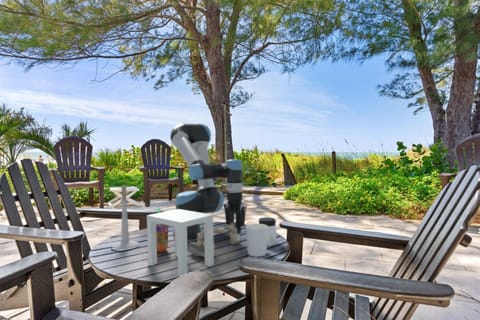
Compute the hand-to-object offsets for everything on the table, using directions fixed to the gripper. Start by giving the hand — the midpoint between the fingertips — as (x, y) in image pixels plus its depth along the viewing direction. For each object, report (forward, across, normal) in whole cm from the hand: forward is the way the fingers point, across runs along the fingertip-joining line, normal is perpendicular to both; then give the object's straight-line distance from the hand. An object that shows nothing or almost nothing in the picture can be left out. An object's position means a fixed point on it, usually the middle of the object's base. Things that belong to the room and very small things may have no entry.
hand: (235, 239), depth 145 cm
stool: (+2, 0, -34) cm, 34 cm away
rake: (+1, 0, -11) cm, 11 cm away
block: (+2, 0, -20) cm, 20 cm away
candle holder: (+2, +16, -5) cm, 17 cm away
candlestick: (+2, -39, -35) cm, 53 cm away
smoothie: (+2, -20, -29) cm, 35 cm away
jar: (+2, +12, +10) cm, 16 cm away
